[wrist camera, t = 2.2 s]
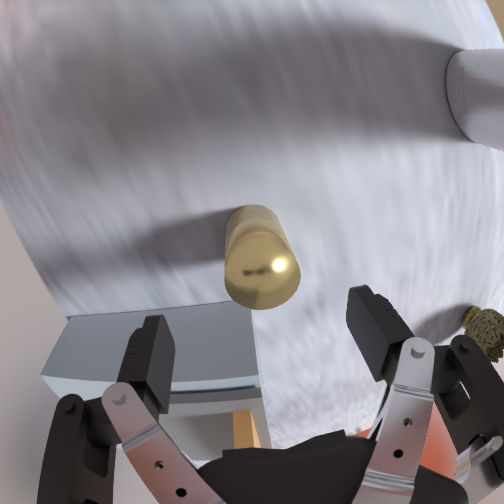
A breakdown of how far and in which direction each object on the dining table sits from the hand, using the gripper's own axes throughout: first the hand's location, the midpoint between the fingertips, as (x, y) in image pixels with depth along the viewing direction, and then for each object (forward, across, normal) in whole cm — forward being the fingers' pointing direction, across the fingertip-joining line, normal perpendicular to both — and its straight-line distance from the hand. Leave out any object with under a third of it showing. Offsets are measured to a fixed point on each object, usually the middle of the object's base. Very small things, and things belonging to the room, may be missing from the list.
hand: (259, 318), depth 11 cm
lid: (+1, +4, +13) cm, 14 cm away
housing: (+10, +9, +13) cm, 19 cm away
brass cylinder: (+10, -1, 0) cm, 10 cm away
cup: (+9, -29, +16) cm, 34 cm away
